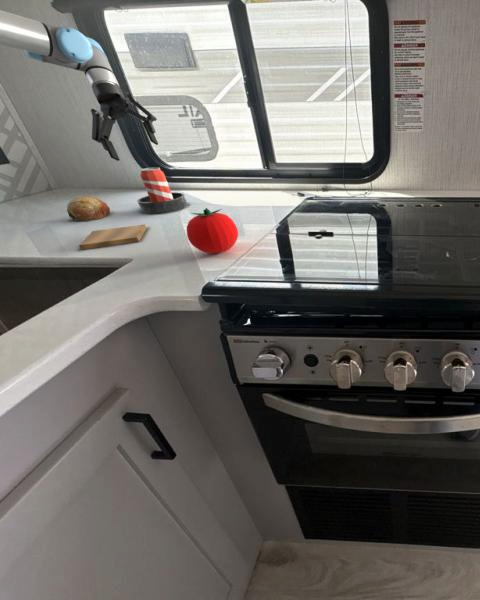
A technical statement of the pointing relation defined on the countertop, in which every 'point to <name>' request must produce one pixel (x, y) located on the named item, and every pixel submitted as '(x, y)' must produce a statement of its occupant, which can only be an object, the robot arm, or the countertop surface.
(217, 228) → the tomato
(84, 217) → the bread roll
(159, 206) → the pan
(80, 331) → the countertop surface
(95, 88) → the robot arm
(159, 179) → the beverage can
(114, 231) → the board
